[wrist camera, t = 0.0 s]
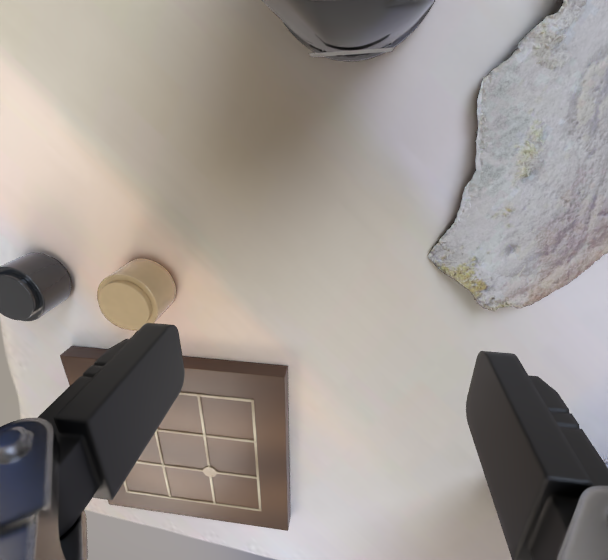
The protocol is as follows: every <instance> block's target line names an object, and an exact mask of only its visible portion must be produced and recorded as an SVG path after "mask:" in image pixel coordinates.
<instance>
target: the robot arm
mask: <svg viewBox="0 0 608 560" xmlns="http://www.w3.org/2000/svg"><path fill="white" fill-rule="evenodd" d="M262 1H263V2H264V3H265V4H266V5H267V6H268V7H269V8H270V9H271V10H272V11H273V12H274V13H275V14H276V15H277V16H278V17H279V18H280V19H281V20H282V21H283V22H284V24H285V25H286V27H287V28H288V29H289V30H290V32H291V33H292V34H293V35H294V36H295V37H296V38H297V39H298V40H299V41H300V42H301V43H302V44H304V45H305V46H306V47H308V48H309V49H310V50H312V51H314V52H316V53H310V54H309V55H310V56H312V57H321V56H324V57H327V58H330V59H334V60H339V61H360V60H366V59H370V58H373V57H376V56H379V55H381V54H383V53H385V52H392V51H393V49H394V47H395V46H397V45H398V44H400V43H401V42H402V41H403V40H405V39H406V38H407V37H408V36H409V35H410V34H411V33H412V32H413V31H414V30H415V29H416V28H417V26H418V25H419V24H420V23H421V21H422V20H423V19H424V17H425V16H426V15H427V13H428V12H429V10H430V9H431V7H432V5H433V4H434V2H435V0H262ZM184 376H185V370H184V363H183V357H182V351H181V345H180V339H179V333H178V329H177V327H176V326H174V325H167V324H155V323H146V324H144V325H143V326H142V327H141V328H140V329H139V330H138V331H137V332H136V333H135V334H134V335H133V336H132V337H131V338H130V339H125V340H124V341H122V342H120V343H118V344H117V345H115V346H113V347H111V348H110V349H108V350H107V351H106V352H105V353H104V354H103V355H101V356H100V357H99V358H98V359H97V360H96V361H95V362H94V365H91V366H90V367H89V368H88V369H87V370H86V371H85V372H84V373H83V376H80V377H79V378H78V379H77V380H76V381H75V382H74V383H73V384H72V385H71V386H70V387H69V388H68V389H67V390H66V391H64V392H63V393H62V394H61V395H60V396H59V397H58V398H57V399H56V400H55V401H54V402H53V403H52V404H51V405H50V406H49V407H48V408H47V409H46V410H45V411H44V412H43V413H42V414H41V415H40V416H39V417H38V418H26V419H21V420H17V421H14V422H11V423H8V424H6V425H4V426H2V427H0V560H88V549H87V524H86V514H85V512H84V509H85V508H86V506H87V505H88V503H89V502H90V500H91V499H92V497H93V498H100V499H107V500H113V498H114V497H115V495H116V494H117V492H118V491H119V489H120V487H121V486H122V484H123V483H124V481H125V479H126V478H127V476H128V475H129V473H130V471H131V470H132V468H133V467H134V465H135V463H136V462H137V460H138V459H139V457H140V455H141V454H142V452H143V451H144V449H145V447H146V446H147V444H148V443H149V441H150V440H151V438H152V436H153V435H154V433H155V432H156V430H157V428H158V427H159V425H160V424H161V422H162V420H163V419H164V417H165V416H166V414H167V412H168V411H169V409H170V408H171V406H172V404H173V403H174V401H175V400H176V398H177V396H178V395H179V393H180V391H181V389H182V386H183V383H184ZM466 414H467V421H468V425H469V428H470V431H471V434H472V437H473V440H474V444H475V447H476V450H477V453H478V456H479V459H480V462H481V465H482V468H483V471H484V474H485V477H486V480H487V483H488V486H489V489H490V492H491V496H492V499H493V502H494V505H495V508H496V511H497V514H498V517H499V520H500V523H501V526H502V529H503V532H504V535H505V538H506V541H507V545H508V548H509V551H510V554H511V557H512V560H608V468H607V466H606V465H605V463H604V462H603V460H602V459H601V457H600V456H599V454H598V453H597V451H596V450H595V448H594V447H593V445H592V444H591V442H590V441H589V439H588V438H587V436H586V435H585V433H584V432H583V430H582V429H579V424H578V423H577V421H576V420H575V418H574V417H573V415H572V414H569V409H568V408H567V406H566V405H565V403H564V402H563V400H562V399H561V397H560V396H559V394H558V393H557V392H556V391H555V390H554V389H553V388H551V387H550V386H549V385H548V384H546V383H545V382H544V381H543V380H542V379H540V378H539V377H538V376H528V374H527V373H526V371H525V369H524V368H523V366H522V364H521V363H520V361H519V359H518V358H517V356H516V355H515V354H511V353H498V352H486V351H481V352H480V353H479V354H478V356H477V359H476V364H475V368H474V372H473V376H472V380H471V384H470V388H469V392H468V396H467V402H466Z"/></svg>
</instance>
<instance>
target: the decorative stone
mask: <svg viewBox="0 0 608 560" xmlns="http://www.w3.org/2000/svg"><path fill="white" fill-rule="evenodd" d="M563 2H564V3H563V4H562V6H561V8H560V9H559V11H558V12H557V13H555V14H553V15H548V16H547V17H546V18H545V19H544V20H543V21H541V22H540V23H539V24H537V26H536V27H535V28H534V29H532V30H531V31H530V32H529V33H528V34H526V36H525V38H523V39H522V40H521V41H520V42H519V44H518V48H519V49H517V50H516V51H515V52H513V55H511V57H510V58H509V59H507V60H506V61H504V62H502V63H501V64H500V65H499V66H498V67H497V68H494V69H493V70H492V71H491V72H490V74H489V75H488V76H486V77H483V79H484V80H483V81H482V83H481V87H480V91H479V96H478V99H477V104H478V108H477V116H478V117H477V119H478V131H477V132H475V133H478V134H477V141H475V142H476V143H477V148H476V150H477V154H476V160H475V162H476V170H477V171H475V172H474V173H476V174H474V175H473V178H472V180H471V181H470V182H468V184H467V186H466V187H465V188H464V189H465V191H464V193H463V195H462V197H463V199H462V201H461V207H460V208H459V209H460V210H459V211H458V213H457V218H456V219H455V222H454V224H453V225H451V228H450V229H448V230H447V231H446V233H445V234H444V235H443V236H442V237H441V238H440V239H439V243H437V244H436V245H435V246H434V247H433V248H432V251H430V253H429V254H428V257H429V258H430V259H431V260H432V261H433V262H434V264H435V265H436V266H437V267H438V269H440V270H441V271H442V272H444V274H446V275H448V276H449V277H451V278H453V279H456V281H458V282H459V283H461V285H462V286H464V287H465V288H467V289H469V290H470V291H471V293H472V294H473V295H474V298H475V300H476V301H477V302H478V304H479V305H481V306H482V307H483V308H485V309H488V310H491V311H495V310H497V309H498V308H503V307H504V306H506V307H515V308H522V307H526V306H528V305H529V306H530V305H532V304H533V303H535V302H536V301H539V300H541V299H542V298H544V297H545V296H548V295H549V294H550V293H552V292H554V291H555V290H558V289H560V287H563V286H565V285H567V284H568V283H570V282H571V281H572V280H573V279H575V278H577V277H578V276H579V275H580V274H581V273H582V272H584V271H585V270H587V269H588V268H589V267H590V266H591V265H593V263H594V262H595V261H597V260H598V259H600V258H601V257H602V256H603V255H604V254H607V253H608V0H563Z"/></svg>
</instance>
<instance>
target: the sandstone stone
mask: <svg viewBox="0 0 608 560" xmlns="http://www.w3.org/2000/svg"><path fill="white" fill-rule="evenodd" d="M175 296H176V287H175V283H174V280H173V278H172V277H171V275H170V274H169V272H168V271H167V270H166V269H165V268H164V267H162V266H161V265H160V264H158V263H156V262H154V261H151V260H148V259H135V260H132V261H130V262H128V263H127V264H125V265H124V266H122V267H121V268H120V269H118V270H117V271H115V272H114V273H112V274H111V275H109V276H108V277H107V278H105V279H104V280H103V281H102V282H101V283H100V285H99V287H98V291H97V298H98V303H99V307H100V309H101V311H102V313H103V315H104V316H105V317H106V318H107V319H108V320H109V321H110V322H111V323H113V324H114V325H116V326H118V327H120V328H123V329H128V330H136V331H137V330H139V329H140V328H141V327H142V326H143V325H144V324H146V323H154V322H155V321H156V320H157V319H158V318H159V317H160V316H161V315H162V314H163V313H164V312H165V311H166V310H167V309H168V308H169V306H170V305H171V304H172V303H173V301H174V299H175Z"/></svg>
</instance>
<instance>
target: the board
mask: <svg viewBox="0 0 608 560" xmlns="http://www.w3.org/2000/svg"><path fill="white" fill-rule="evenodd" d="M107 350H108V349H98V348H87V347H76V346H71V347H70V348H69V349H67V350H66V351H65V352H64V353H63V354H61V355H60V357H61V360H62V363H63V366H64V369H65V372H66V375H67V378H68V381H69V385H70V386H71V385H72V384H73V383H74V382H75V381H76V380H77V379H78V378H79V377H80V376H83V373H84V372H85V371H86V370H87V369H88V368H89V367H90V366H91V365H94V362H95V361H96V360H97V359H98V358H99V357H100V356H101V355H103V354H104V353H105V352H106V351H107ZM182 357H183V363H184V370H185V376H184V383H183V386H182V389H181V391H180V393H179V395H178V396H177V398H176V400H175V401H174V403H173V404H172V406H171V408H170V409H169V411H168V412H167V414H166V416H165V417H164V419H163V420H162V422H161V424H160V425H159V427H158V428H157V430H156V432H155V433H154V435H153V436H152V438H151V440H150V441H149V443H148V444H147V446H146V447H145V449H144V451H143V452H142V454H141V455H140V457H139V459H138V460H137V462H136V463H135V465H134V467H133V468H132V470H131V471H130V473H129V475H128V476H127V478H126V479H125V481H124V483H123V484H122V486H121V487H120V489H119V491H118V492H117V494H116V495H115V497H114V498H113V500H108V502H109V504H110V505H117V506H124V507H131V508H138V509H144V510H151V511H158V512H165V513H172V514H178V515H185V516H192V517H199V518H206V519H212V520H219V521H226V522H233V523H240V524H246V525H253V526H260V527H267V528H274V529H280V530H287V531H288V528H289V522H290V465H289V408H288V366H282V365H271V364H260V363H249V362H239V361H228V360H217V359H206V358H195V357H185V356H182Z"/></svg>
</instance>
